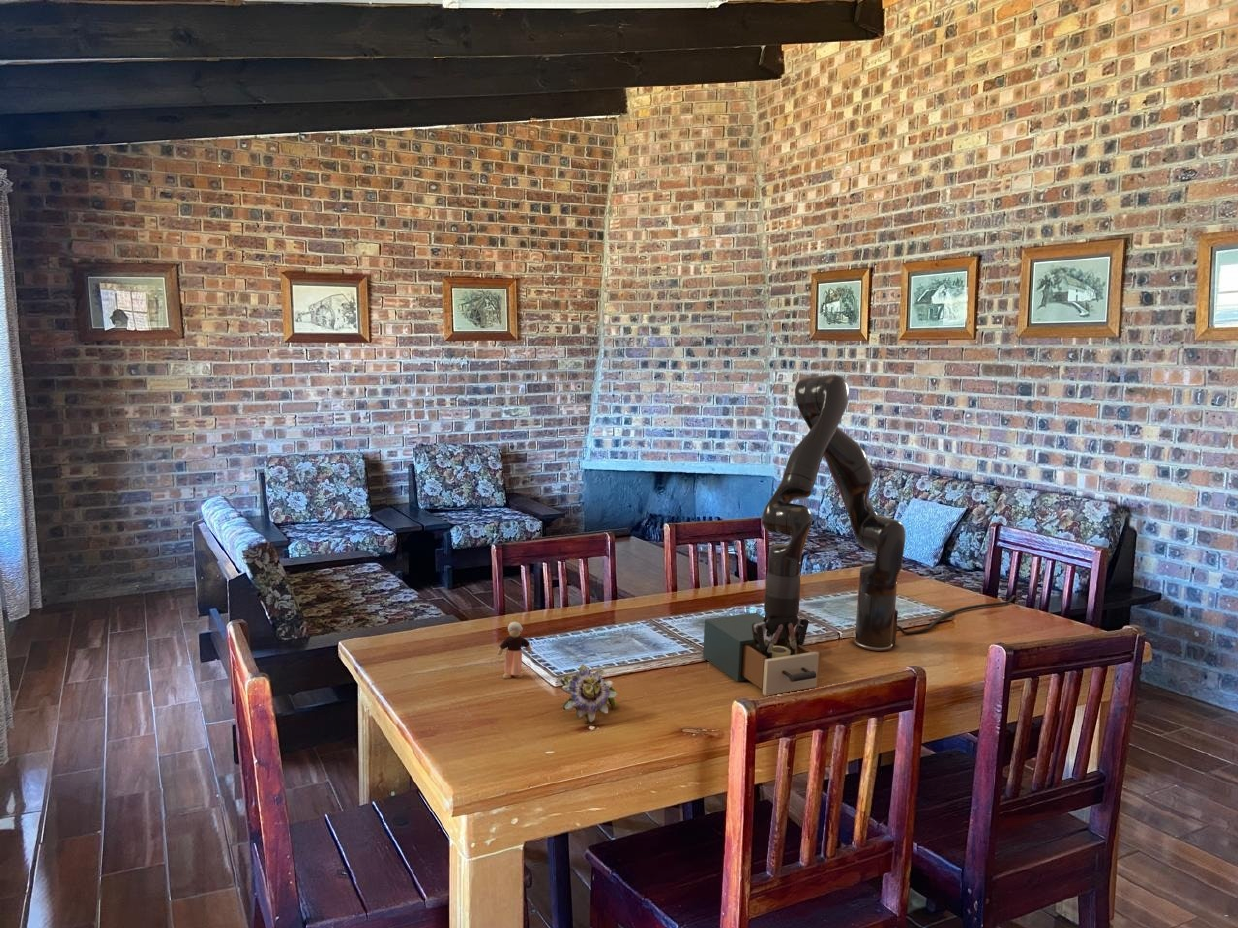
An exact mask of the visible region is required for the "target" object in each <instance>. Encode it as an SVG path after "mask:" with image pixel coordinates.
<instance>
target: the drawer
mask: <svg viewBox="0 0 1238 928" xmlns="http://www.w3.org/2000/svg"><path fill="white" fill-rule="evenodd" d="M767 646H768V645H767ZM774 646H783V647H785V646H787V645H786V641H785V638H782V639H778V640H777V642H776V644H774ZM819 656H820V653H819V652H818V651H810V650H809V649H807V648H805V647H803V645H802V646H800V645H798V646H797V648H796V649H795V655H790V656H784V657H777V658H771V659H767V657H766V656H764V655H762V651H761V650H759V649H758V648H756V647H755V646H754V643H748V644H743V646H742V664H741V675H742V676H743V677H745V678H746V679H748V680H747V681H748V682H751V683H752V684H753V685H754V686H756V687H758V688H759V689H760V690H762V695H763V696H766V697H767V696H773V695H778V694H784V693H789V692H794V691H795V692H796V691H800V690H805V689H811V688H816V687H817V685H818V671H819Z"/></svg>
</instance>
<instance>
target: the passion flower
mask: <svg viewBox="0 0 1238 928" xmlns="http://www.w3.org/2000/svg"><path fill="white" fill-rule="evenodd" d="M604 673H605V672H604V669H603V668H600V669H599V670H596V671H595V672H592V671H591V669H588V667H587V665H585V664H583V663H582V664H581V665H580V666H579V671H578V672H576V674H575V675H572V676H571V675H568V674H565V675H564V676H563V678H564V679H563V678H560V681H559V682H560V683H561V685H562V686H560V689H561V690H562V691H563V692H565V693H566V694H569V698H568V699H567V700H566V701H565V702H564V703H563V705H562V710H564V711H568V710H571V709H573V708H574V709H575V714H576V717H577V719H578V720H581V719H582V718H583V717H585V718H586V719H587V721H588V722H589V723H592V722H594V721H595V718H596V713H597V712H598V711H599V712H601V714H604V715H607V714H609V706H611V708H612V709H614V708H615V706H616V700H615V698H617V696H618V692H616V690H615V689H614V687H613V685H614V682H613V681H612V680H606V679H604V678H603V676H604ZM608 704H609V706H608Z"/></svg>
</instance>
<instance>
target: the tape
mask: <svg viewBox="0 0 1238 928" xmlns="http://www.w3.org/2000/svg"><path fill="white" fill-rule="evenodd" d="M771 652H772V658H777V657H784V656H790V654H791V651H790V649H788V648H786V647H783V646H773V649H772V651H771Z"/></svg>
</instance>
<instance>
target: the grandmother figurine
mask: <svg viewBox="0 0 1238 928" xmlns="http://www.w3.org/2000/svg"><path fill="white" fill-rule="evenodd" d="M507 632H508V635H509V636H507V637H505V639H504V640H503V641H502V642H501V643H500V644H499V648H498V650H497V652H496V655H498V656H500V655H502V653H503V651H504V650H505V649H506V652H505V657H504V658H505V659H504V671H503V672H504V673H503V675H502V679H508V680H509V679H511V678H512V676H513V677H514V678H517V679H519V678H522V677H523V673H522V665H523V649H522V647H524V648H525V649H526V651H527V652H528V653H531V652H532V651H533V650H532V649H533V648H532V647H531V644H530V643H531V642H530V641H528V640H527V639H526V638H525V637H522V636H520V635H521V633H522V632H523V626H522V624H521V623H519V622H518V621H516V620H515V621H511V622H509V624H508V626H507Z"/></svg>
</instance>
